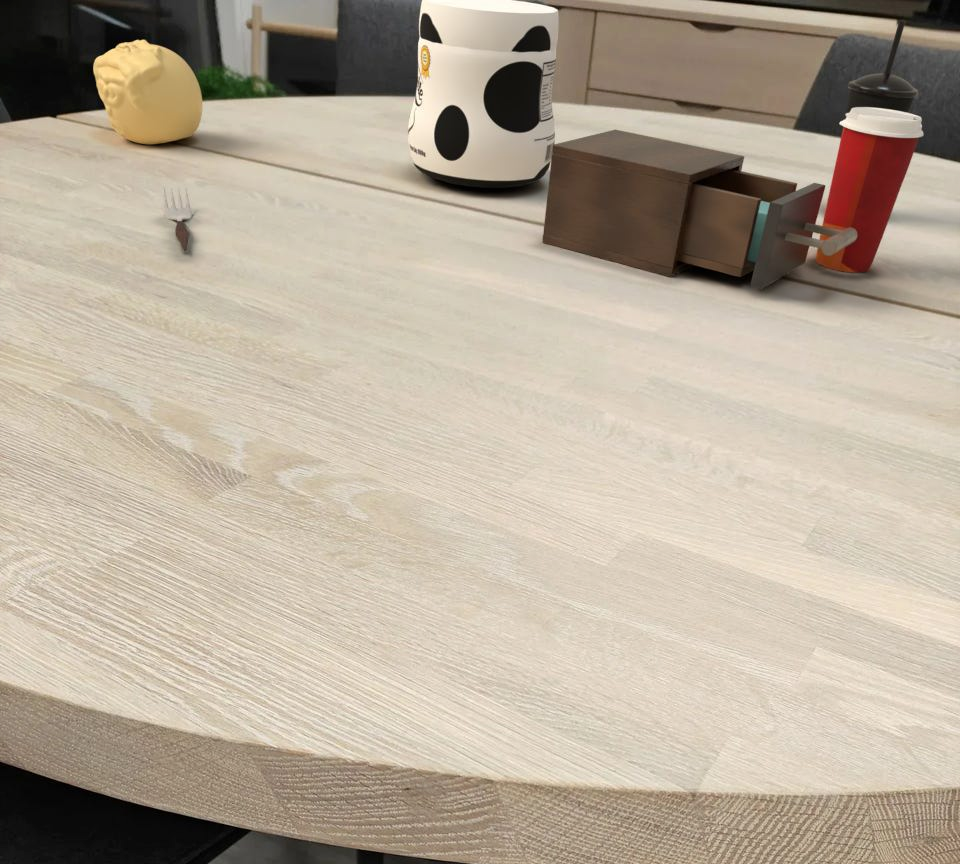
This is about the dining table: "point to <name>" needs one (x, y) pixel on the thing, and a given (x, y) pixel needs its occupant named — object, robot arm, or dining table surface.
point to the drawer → (731, 222)
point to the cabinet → (626, 196)
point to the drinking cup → (883, 86)
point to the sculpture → (148, 92)
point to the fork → (179, 217)
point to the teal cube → (758, 231)
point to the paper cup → (867, 181)
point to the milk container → (484, 92)
